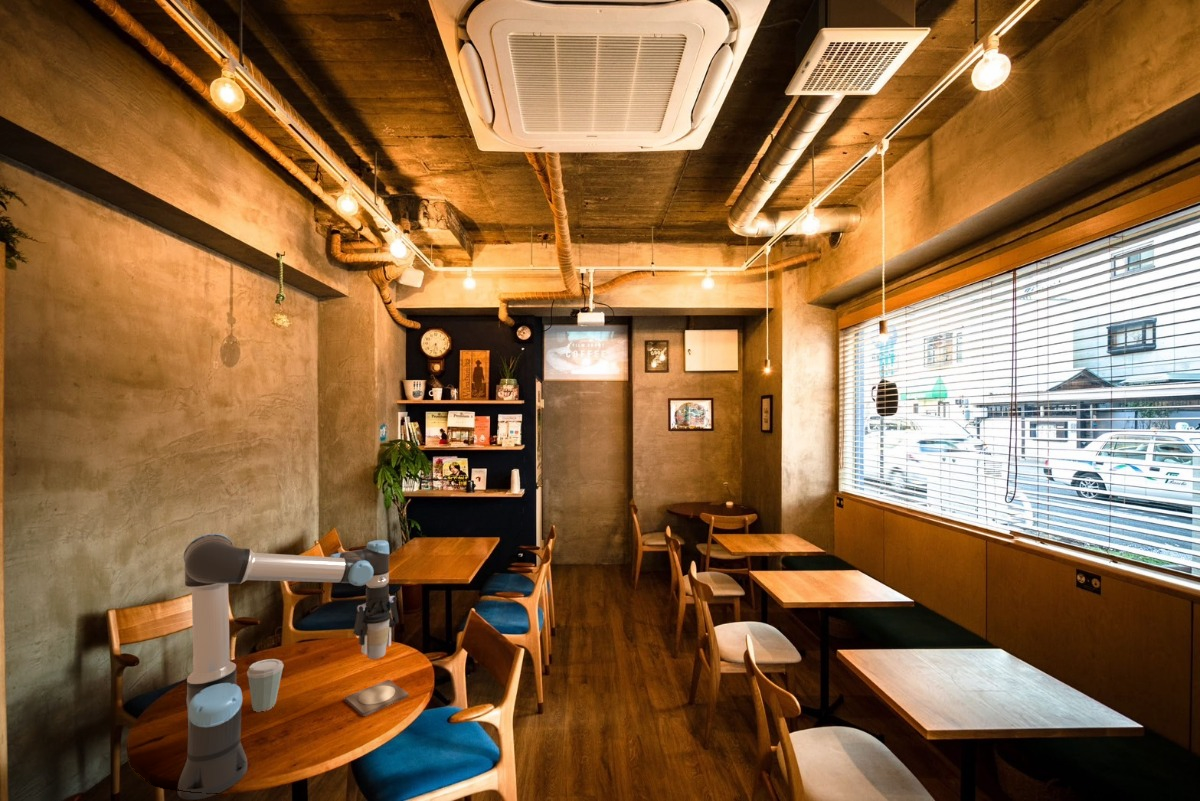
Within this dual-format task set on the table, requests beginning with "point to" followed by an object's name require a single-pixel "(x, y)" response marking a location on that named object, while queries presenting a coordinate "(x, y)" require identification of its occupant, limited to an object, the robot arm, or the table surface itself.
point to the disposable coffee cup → (264, 683)
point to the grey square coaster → (376, 697)
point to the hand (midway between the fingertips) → (376, 648)
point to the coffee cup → (377, 633)
